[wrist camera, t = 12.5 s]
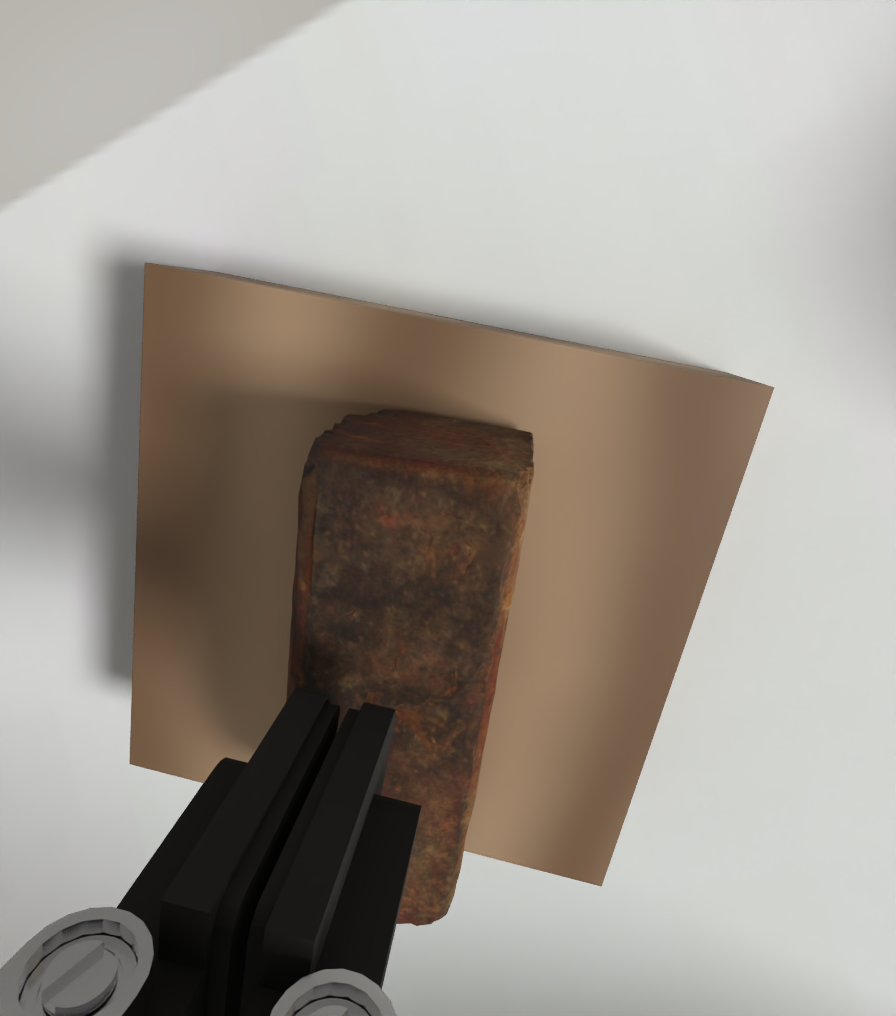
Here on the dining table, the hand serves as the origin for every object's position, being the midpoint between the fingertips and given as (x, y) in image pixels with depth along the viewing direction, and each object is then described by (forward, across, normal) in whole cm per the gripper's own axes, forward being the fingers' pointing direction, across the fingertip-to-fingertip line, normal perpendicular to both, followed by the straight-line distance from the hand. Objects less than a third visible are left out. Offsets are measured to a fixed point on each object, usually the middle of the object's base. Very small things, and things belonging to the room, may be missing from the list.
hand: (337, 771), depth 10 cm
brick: (+6, 0, 0) cm, 6 cm away
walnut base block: (+10, 0, 0) cm, 10 cm away
